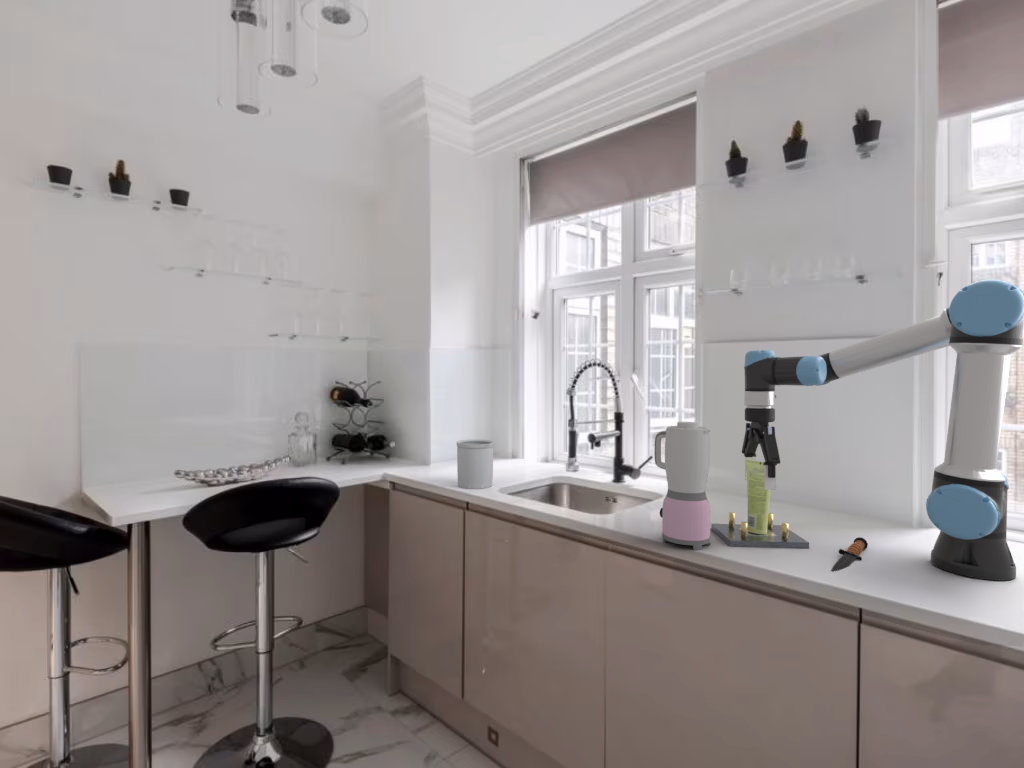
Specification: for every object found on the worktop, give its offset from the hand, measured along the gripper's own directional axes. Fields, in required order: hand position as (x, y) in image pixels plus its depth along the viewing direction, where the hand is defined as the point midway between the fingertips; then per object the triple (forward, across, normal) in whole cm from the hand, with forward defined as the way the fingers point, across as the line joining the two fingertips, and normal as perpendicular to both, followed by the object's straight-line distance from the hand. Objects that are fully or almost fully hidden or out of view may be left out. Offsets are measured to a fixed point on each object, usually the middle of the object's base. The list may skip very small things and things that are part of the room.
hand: (759, 484), depth 148 cm
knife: (+16, -16, -15) cm, 27 cm away
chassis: (+15, 0, 0) cm, 15 cm away
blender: (+15, -4, +22) cm, 27 cm away
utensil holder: (+13, +61, +86) cm, 107 cm away
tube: (+13, 0, 0) cm, 13 cm away
